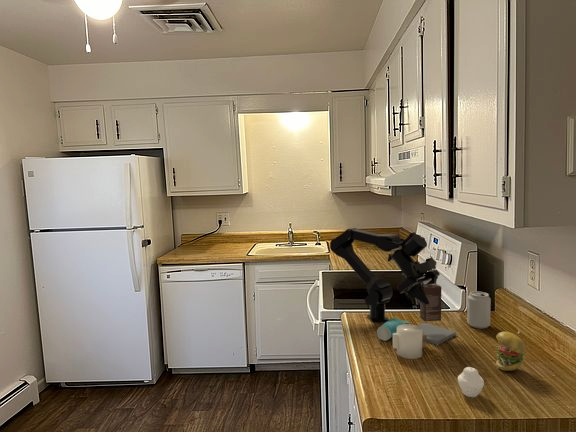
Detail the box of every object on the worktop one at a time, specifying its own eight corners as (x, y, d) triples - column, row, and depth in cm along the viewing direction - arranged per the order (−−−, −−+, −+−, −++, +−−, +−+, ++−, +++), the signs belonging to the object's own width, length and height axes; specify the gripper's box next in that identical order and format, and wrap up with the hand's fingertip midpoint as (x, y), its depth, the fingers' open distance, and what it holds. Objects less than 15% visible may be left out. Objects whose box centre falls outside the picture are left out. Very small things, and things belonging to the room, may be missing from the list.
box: (435, 316, 144) (436, 283, 142) (441, 321, 139) (442, 286, 138) (418, 317, 143) (419, 283, 142) (424, 322, 139) (425, 287, 137)
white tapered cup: (415, 347, 132) (415, 323, 131) (426, 357, 125) (426, 332, 124) (388, 349, 131) (388, 325, 130) (398, 360, 123) (398, 334, 123)
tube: (374, 323, 139) (391, 311, 155) (372, 336, 139) (389, 323, 156) (396, 330, 135) (411, 317, 151) (393, 344, 135) (408, 330, 152)
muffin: (467, 402, 100) (468, 374, 99) (452, 389, 106) (452, 363, 105) (489, 398, 102) (490, 371, 101) (472, 386, 108) (473, 360, 107)
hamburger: (493, 361, 121) (494, 322, 120) (521, 365, 118) (522, 324, 117) (497, 373, 114) (498, 331, 113) (526, 377, 111) (528, 334, 110)
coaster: (405, 334, 142) (405, 331, 142) (424, 325, 150) (424, 322, 150) (437, 345, 133) (437, 341, 133) (455, 335, 141) (455, 331, 141)
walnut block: (408, 344, 135) (408, 332, 134) (418, 342, 136) (418, 330, 136) (416, 349, 131) (416, 337, 130) (426, 347, 132) (426, 335, 132)
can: (493, 329, 145) (494, 296, 144) (472, 329, 146) (473, 296, 144) (484, 321, 153) (485, 290, 152) (463, 322, 153) (464, 290, 152)
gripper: (405, 254, 136) (435, 294, 128) (435, 247, 148) (464, 283, 141) (385, 273, 142) (413, 312, 135) (415, 265, 154) (442, 300, 147)
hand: (434, 301), depth 139 cm, fingers closed on box, 7 cm apart
